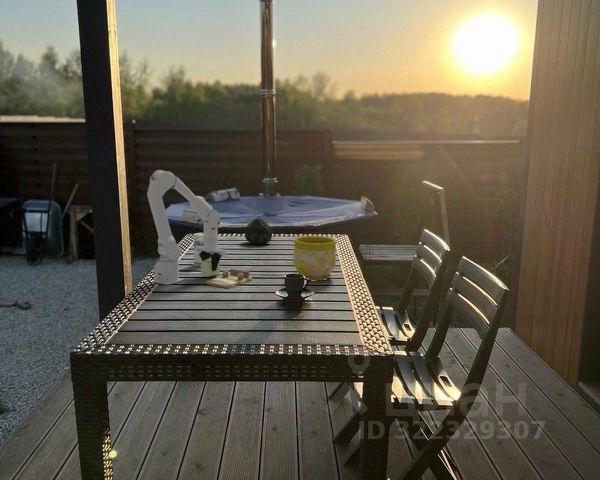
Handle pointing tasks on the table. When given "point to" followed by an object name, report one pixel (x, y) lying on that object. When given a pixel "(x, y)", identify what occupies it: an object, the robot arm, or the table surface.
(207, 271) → the block
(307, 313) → the table surface
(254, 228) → the squash
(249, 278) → the board
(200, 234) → the printed cardboard box
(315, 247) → the flowerpot
